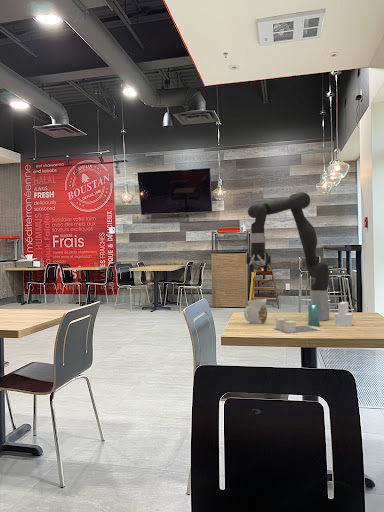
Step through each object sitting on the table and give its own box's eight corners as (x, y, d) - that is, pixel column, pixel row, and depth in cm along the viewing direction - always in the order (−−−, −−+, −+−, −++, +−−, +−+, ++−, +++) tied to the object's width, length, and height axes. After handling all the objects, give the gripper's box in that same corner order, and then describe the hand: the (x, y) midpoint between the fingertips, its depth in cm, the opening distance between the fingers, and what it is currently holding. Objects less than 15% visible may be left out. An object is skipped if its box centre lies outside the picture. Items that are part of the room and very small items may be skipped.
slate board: (304, 328, 220) (304, 325, 220) (321, 333, 207) (321, 330, 207) (272, 331, 214) (272, 328, 214) (286, 336, 201) (286, 333, 201)
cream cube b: (282, 328, 215) (282, 318, 215) (287, 329, 211) (286, 319, 211) (275, 328, 214) (275, 318, 214) (279, 330, 210) (279, 319, 210)
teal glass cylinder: (315, 326, 226) (315, 304, 225) (321, 328, 220) (321, 305, 220) (306, 327, 224) (306, 304, 224) (312, 329, 219) (312, 306, 218)
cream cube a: (291, 330, 208) (291, 320, 208) (295, 332, 204) (295, 321, 204) (284, 331, 206) (283, 321, 206) (288, 332, 203) (288, 322, 202)
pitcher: (237, 326, 231) (237, 301, 231) (259, 322, 243) (258, 298, 242) (252, 328, 223) (252, 302, 222) (274, 324, 234) (274, 299, 234)
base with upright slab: (337, 322, 236) (337, 301, 236) (354, 324, 231) (354, 302, 231) (332, 325, 229) (332, 303, 229) (349, 326, 224) (349, 304, 224)
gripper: (273, 241, 225) (273, 272, 225) (251, 242, 234) (251, 271, 235) (265, 241, 219) (265, 273, 219) (243, 242, 229) (243, 272, 229)
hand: (258, 272), depth 227 cm, fingers open, 8 cm apart
